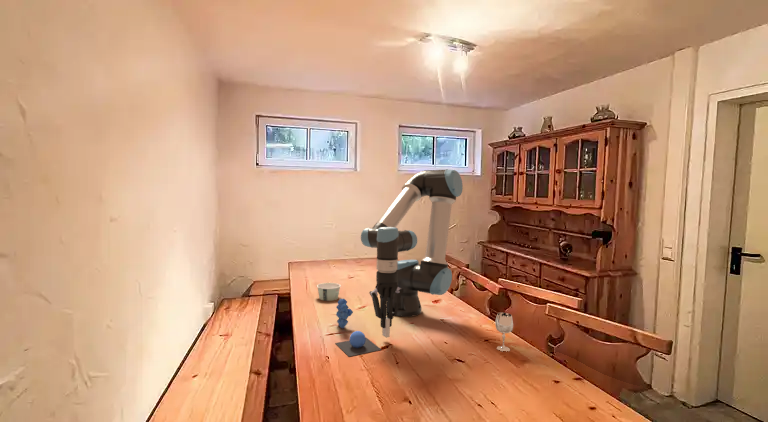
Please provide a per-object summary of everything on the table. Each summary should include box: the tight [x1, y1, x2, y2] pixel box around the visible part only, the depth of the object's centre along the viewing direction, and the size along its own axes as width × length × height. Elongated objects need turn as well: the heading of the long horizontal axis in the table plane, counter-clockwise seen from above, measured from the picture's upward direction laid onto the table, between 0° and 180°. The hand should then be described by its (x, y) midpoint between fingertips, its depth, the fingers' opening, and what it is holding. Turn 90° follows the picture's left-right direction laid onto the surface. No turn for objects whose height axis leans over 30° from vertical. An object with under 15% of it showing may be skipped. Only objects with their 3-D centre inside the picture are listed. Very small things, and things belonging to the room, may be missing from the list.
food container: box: [316, 282, 342, 302], centre depth 188 cm, size 12×12×6 cm
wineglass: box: [495, 312, 514, 353], centre depth 129 cm, size 6×6×12 cm
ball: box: [349, 330, 367, 348], centre depth 129 cm, size 6×6×6 cm
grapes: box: [335, 298, 354, 329], centre depth 147 cm, size 12×7×12 cm, turn 18°
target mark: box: [334, 336, 382, 358], centre depth 129 cm, size 12×12×1 cm
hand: (385, 335), depth 134 cm, fingers closed
